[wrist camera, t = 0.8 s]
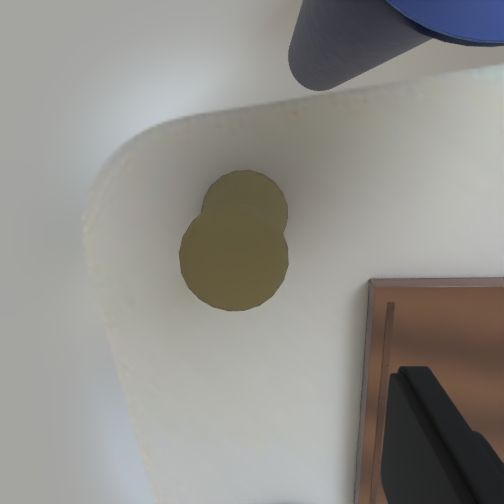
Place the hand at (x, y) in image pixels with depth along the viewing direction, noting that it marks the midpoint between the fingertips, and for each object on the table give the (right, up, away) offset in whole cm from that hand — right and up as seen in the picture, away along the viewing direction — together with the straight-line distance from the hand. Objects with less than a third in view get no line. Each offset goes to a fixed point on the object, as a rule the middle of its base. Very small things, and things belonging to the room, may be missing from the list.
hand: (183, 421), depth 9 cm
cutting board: (+17, -9, +23) cm, 30 cm away
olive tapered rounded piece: (+1, +7, +19) cm, 20 cm away
